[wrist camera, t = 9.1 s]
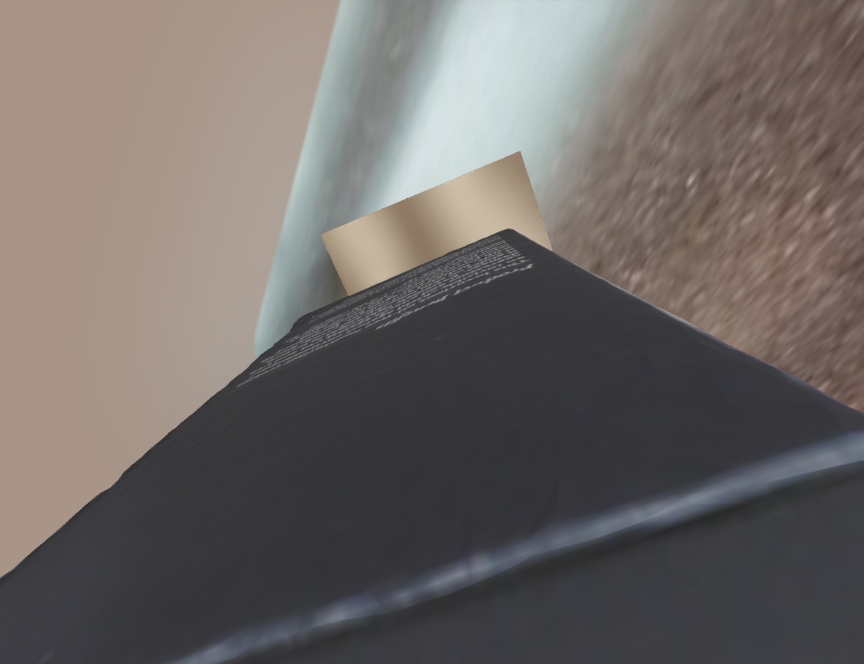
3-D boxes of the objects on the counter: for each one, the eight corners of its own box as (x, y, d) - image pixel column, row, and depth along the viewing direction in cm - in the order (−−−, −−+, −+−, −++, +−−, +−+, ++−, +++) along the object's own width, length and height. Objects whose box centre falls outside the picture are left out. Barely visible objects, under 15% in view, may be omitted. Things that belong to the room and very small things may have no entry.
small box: (654, 553, 14) (1201, 1537, 4) (450, 616, 15) (443, 1524, 5) (525, 213, 11) (1207, 427, 1) (288, 318, 12) (-507, 932, 2)
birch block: (506, 158, 31) (520, 151, 25) (569, 345, 34) (593, 377, 29) (342, 226, 33) (320, 234, 27) (419, 398, 36) (413, 438, 30)
